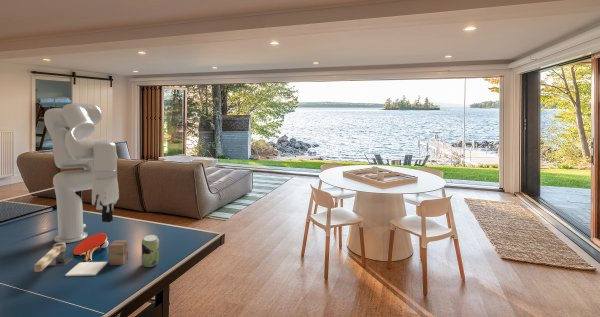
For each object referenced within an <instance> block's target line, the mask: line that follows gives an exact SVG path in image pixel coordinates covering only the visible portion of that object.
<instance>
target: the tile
mask: <svg viewBox="0 0 600 317" xmlns="http://www.w3.org/2000/svg"><path fill="white" fill-rule="evenodd" d="M107 264H108V261H85V262H81V261H80V262H79V263H77V264H76V265H75V266H74V267H72V269H69V271H68V272H67V273H65V275H64V276H65V277H83V276H84V277H85V276H87V277H88V276H96V275H97V274H99V272H100V271H101V270H102V269H104V268H105V267H106V266H107Z"/></svg>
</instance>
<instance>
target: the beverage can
mask: <svg viewBox="0 0 600 317" xmlns="http://www.w3.org/2000/svg"><path fill="white" fill-rule="evenodd" d="M159 246H160V239H159V238H158V236H157V235H156V234H147V235H145V236H144V237H143V239H142V241H141V265H142V266H143V267H146V268H151V267H152V268H153V267H155V266H156V265H157V264H158V263H159V260H160V259H159V257H160V256H159V252H160V248H159Z"/></svg>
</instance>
